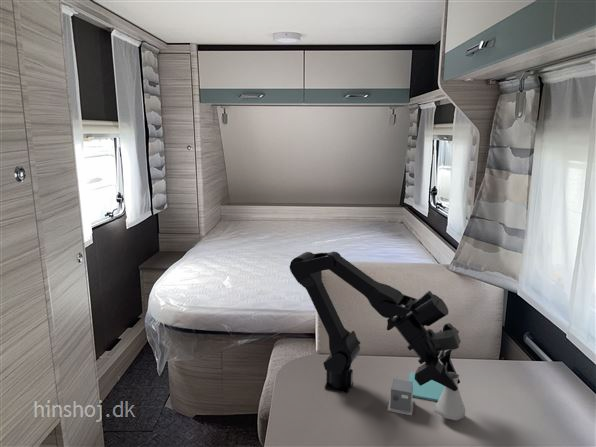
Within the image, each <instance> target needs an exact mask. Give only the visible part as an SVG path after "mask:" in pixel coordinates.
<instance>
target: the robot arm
mask: <svg viewBox="0 0 596 447" xmlns="http://www.w3.org/2000/svg"><path fill="white" fill-rule="evenodd" d="M289 271H290V273H291V275H293V277H294V279H295V280H296V282H297V283H298V284H299V285H301V286H302V287H303V288H305V290H306V292H307V294H308V296H309V298H310V300H311V302H312V304H313V307H314V308H315V311H316V312H317V315H318V317H319V319H320V321H321V323H322V326H323V327H324V330H325V331H326V334H327V336H328V348H329V353H330V355H329V356H327V358H326V360H324V362H323V368H324V369H325V371H326V379H325V380H326V382H325V385H324V389H325V390H330V391H335V392H340V393H344V394H347V393H349V391H350V388H351V387H352V385H353V383H354V382H353V380H354V376H353V375H354V370H353V369H352V363H353V362H354V360H355V359H356V358H357V357H358V355H359V354H360V351H361V347H360V345H361V342H360V341H359V339H358V337H357V334H356V332H355V331H354V330H351V331H349V330H347V329H346V328H345V327H344V324H343V323H342V320H341V318H340V316H339V314H338V312H337V310H336V308H335V305H334V304H333V301H332V300H331V297H330V295H329V293H328V291H327V289H326V287H325V285H324V282H323V278H322V272H323V271H330V272H331V273H333V274H334V275H335V276H338V277H339V278H340V279H341V280H342V281H344V282H345V283H347V284H348V285H349V286H351V287H352V288H353V289H355V290H356V291H357V292H359V293H360V294H361V295H363V296H364V297H365V298H366V299H367V301H368V303H369V304H370V306H371V307H372V308H373V309H374V310H375V312H377V313H378V314H379V315H380V316H381V317H382V318H385V319H387V320H386V321H387V324H386V325H387V326H386V330H387V331H390V330H392V329H394V328H395V329H396V330H397V332H398V333H399V334H400V335H401V337H403V339H404V340H405V341H406V343H407V344H408V345H407V347H406V348H407V349H408V350H409V351H412V350H413V351H414V354H416V355H417V356H418V360H417V362H418V363H419V364H420V366H418V367H417V369H416V372H414V373H415V380H416V381H417V383H418V384H419V385H420V386H421V385H423V384H425V383H427V382H429V381H430V380H433V381H435V382H437V383H440V384H442V385H443V386H445V387H447V388H449V389H451V390H453V391H457V390H458V389H459V386H458V387H457V385H456V384H455V382H454V381H453V379H452V377H451V376H450V374H449V373H448V372H455V373H457V371H456V369H455V367H454V364H453V362H452V360H451V359H452V353H453V351H454V350H457V349H459V348H460V343H461V342H462V341H461V339H460V336H459V333H460V332H459V330H458V329H457V328H456V327H454V326H453V324H451V323H450V322H449V323H445V324H443V326H442V330H439V331H438V332H435V331H434V330H433V329H432V328H431V329H430V328H428V329H427V328H426V327H430V326H432V325H433V324H435V323H436V322H438V321H439V320H441V319H442V318H444V317H446V316H448V315H449V308H448V306H447V304H446V303H445V301H444V300H443V299H442V298H441V297H439V296H437V295H436V294H434V293H433V292H432V291H430V290H428V291H427V292H426V293H424V294H423V295H422V296H421V297H419V298H418V299H417V298H414V297H412V296H409V295H406V294H403V293H402V292H401V291H400V290H398V289H396V288H395V287H393V286H391V285H388V284H387V283H383V282H379V281H376V280H375V279H373V278H372V277H370V276H369V275H368V274H367V273H365V272H364V271H363V270H361V269H360V268H358V267H357V266H356V265H354V264H352V263H351V262H350V261H349V260H347V259H345V258H344V257H342V255H341V254H340V253H339V252H337V251H330V252H317V253H313V252H311V251H305V252H303V253H301V254H299V255H297V256H296V257H294V258H292V260H291V261H290V265H289ZM425 326H426V327H425ZM457 383H458V385H459V384H460V383H461V380H460V378H459V379H458V382H457Z"/></svg>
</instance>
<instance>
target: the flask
mask: <svg viewBox="0 0 596 447" xmlns="http://www.w3.org/2000/svg"><path fill="white" fill-rule="evenodd" d="M448 373H449V374H450V376H451V377H452V379H453V381H454V382H455V384H456V385H457V387H458V390H457V391H453V390H451V389H449V388H447V387H445V388H444V390H443V392H442V395H441V396H440V398H439V400H438V402H437V401H436V402H437V403H436V405H435V408H434V409H435V410H434V412H435V413H436V414H438V415H440V416H441V417H442V418H443V419H448V420H452V421H459V420H461V419H462V418H465V416H466V406H465V404H464V402H463V399H462V396H461V392H460V390H459V384H458V383H457V382H458V379H459V380H460V374H458V373H457V372H456V373H455V372H448Z"/></svg>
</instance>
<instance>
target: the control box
mask: <svg viewBox="0 0 596 447" xmlns="http://www.w3.org/2000/svg"><path fill="white" fill-rule="evenodd" d="M413 398H414V397H413V382H411V381H409V380H404V379H398V378H394V377H393V378H392V384H391V387H390V397H389V402H388V406H387V411H388V412H393V413H398V414H402V415H403V414H404V415H407V416H412V415H413V409H414V399H413Z"/></svg>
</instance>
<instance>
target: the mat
mask: <svg viewBox="0 0 596 447" xmlns="http://www.w3.org/2000/svg"><path fill="white" fill-rule="evenodd" d="M415 373H416V372H412V371H411V372H409V378H408V381H411V382H413V398H416V399H422V400H426V401H427V400H428V401H434V402H438V400H439V398H440V396H441V395H442V392H443V390H444V388H445V386H443V385H442V384H440V383H437V382H435V381H433V380H430V381H429V382H427V383H425V384H423V385H421V386H420V385H419V384H418V383H417V381H416V380H415Z"/></svg>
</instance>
